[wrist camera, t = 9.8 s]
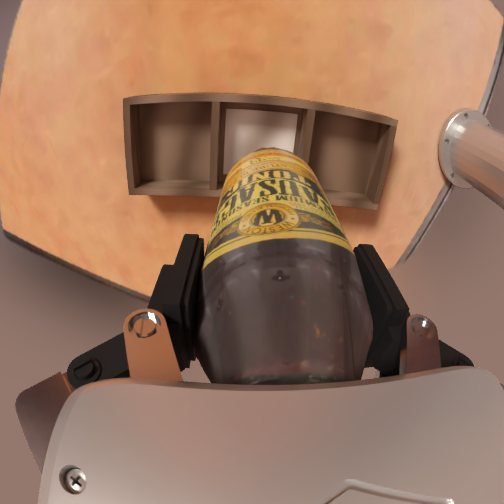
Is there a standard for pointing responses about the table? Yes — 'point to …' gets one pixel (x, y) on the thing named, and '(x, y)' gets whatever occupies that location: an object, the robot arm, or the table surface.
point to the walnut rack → (253, 143)
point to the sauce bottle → (279, 282)
